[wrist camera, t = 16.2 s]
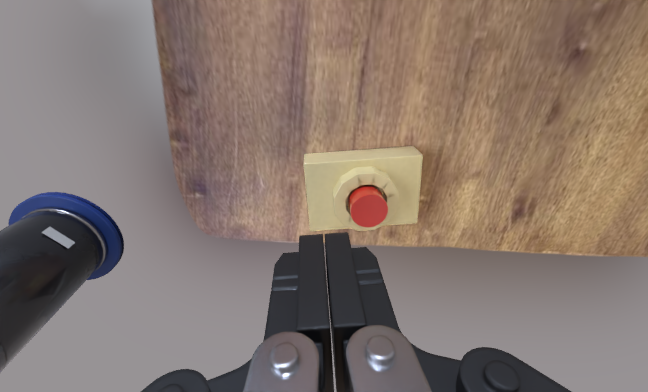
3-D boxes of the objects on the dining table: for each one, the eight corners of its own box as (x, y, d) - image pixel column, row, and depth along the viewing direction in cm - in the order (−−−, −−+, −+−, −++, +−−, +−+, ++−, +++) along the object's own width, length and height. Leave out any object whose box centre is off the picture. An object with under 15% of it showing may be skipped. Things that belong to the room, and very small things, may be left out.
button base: (309, 217, 37) (310, 241, 33) (303, 153, 34) (303, 170, 29) (409, 209, 38) (422, 232, 33) (413, 145, 34) (429, 161, 30)
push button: (348, 218, 32) (351, 228, 31) (347, 186, 31) (350, 196, 29) (383, 215, 32) (387, 226, 31) (384, 184, 31) (388, 193, 29)
